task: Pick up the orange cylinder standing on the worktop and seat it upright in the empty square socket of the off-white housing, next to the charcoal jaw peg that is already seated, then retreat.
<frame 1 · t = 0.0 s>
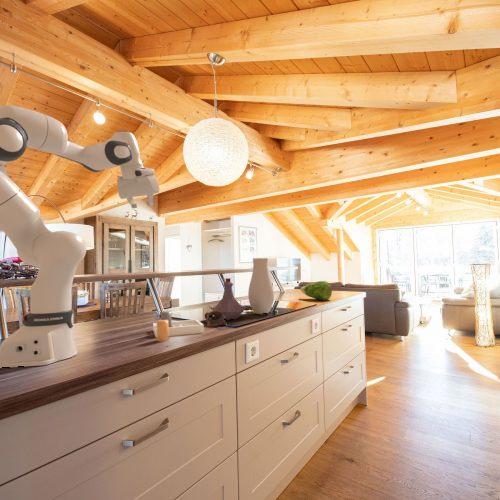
hand: (142, 207, 136), 52 cm above the counter, tool tilted 20°, fingers open, 8 cm apart
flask: (228, 318, 164), on the counter
lettuce: (315, 299, 233), on the counter
charcoal jaw peg: (166, 332, 128), point 1 cm above the counter, touching housing
vase: (261, 314, 176), on the counter
pottery mug: (214, 327, 143), on the counter
housing: (177, 334, 129), on the counter
orange cylinder: (162, 343, 116), on the counter
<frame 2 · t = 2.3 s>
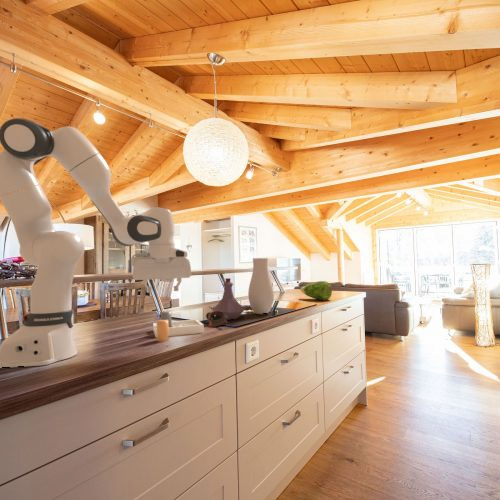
hand: (162, 291, 116), 18 cm above the counter, tool pointing down, fingers open, 8 cm apart
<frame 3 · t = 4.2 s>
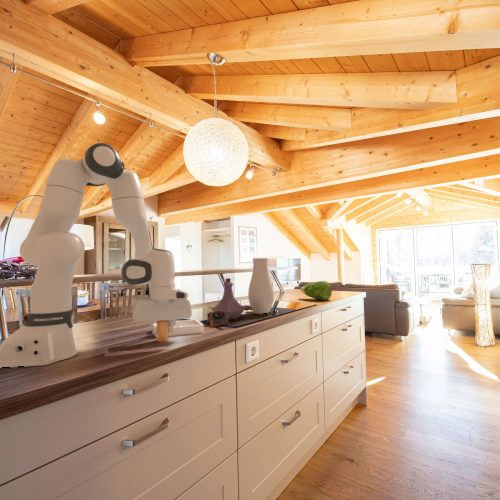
hand: (162, 333, 116), 4 cm above the counter, tool pointing down, fingers closed on orange cylinder, 4 cm apart
orange cylinder: (163, 343, 116), on the counter, touching gripper
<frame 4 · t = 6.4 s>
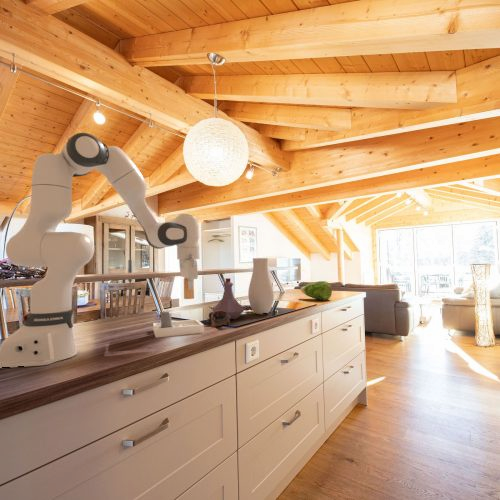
hand: (189, 289, 131), 18 cm above the counter, tool pointing down, fingers closed on orange cylinder, 4 cm apart
orange cylinder: (189, 298, 131), point 14 cm above the counter, touching gripper
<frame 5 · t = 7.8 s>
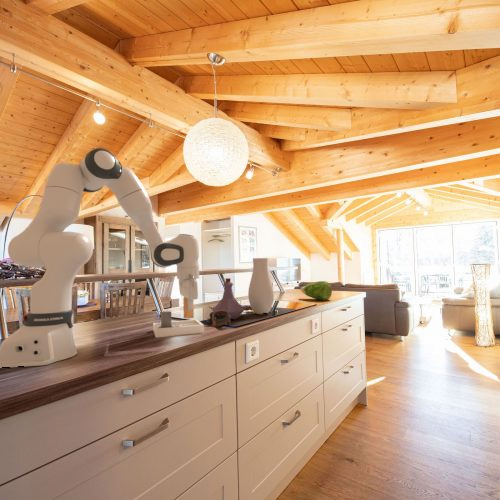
hand: (188, 308, 132), 10 cm above the counter, tool pointing down, fingers closed on orange cylinder, 4 cm apart
orange cylinder: (188, 317, 132), point 6 cm above the counter, touching gripper
when the fingers open (7 cm above the counter, at t = 8.8 s): orange cylinder drops 2 cm, resting on housing.
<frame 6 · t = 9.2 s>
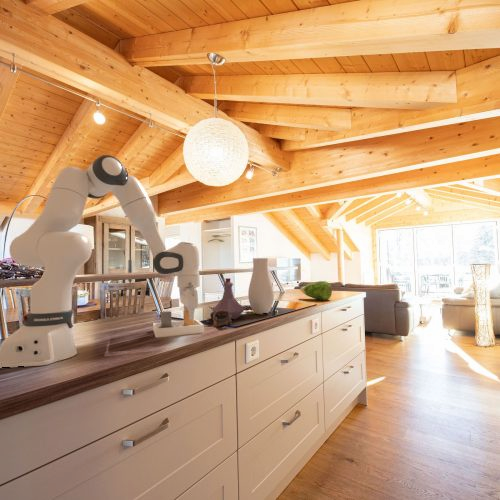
hand: (188, 316, 131), 7 cm above the counter, tool pointing down, fingers open, 8 cm apart
orange cylinder: (188, 330, 131), point 1 cm above the counter, touching housing
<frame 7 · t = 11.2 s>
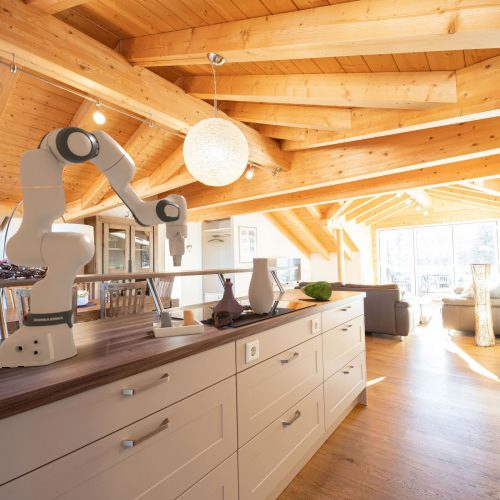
hand: (177, 266, 137), 27 cm above the counter, tool pointing down, fingers open, 8 cm apart
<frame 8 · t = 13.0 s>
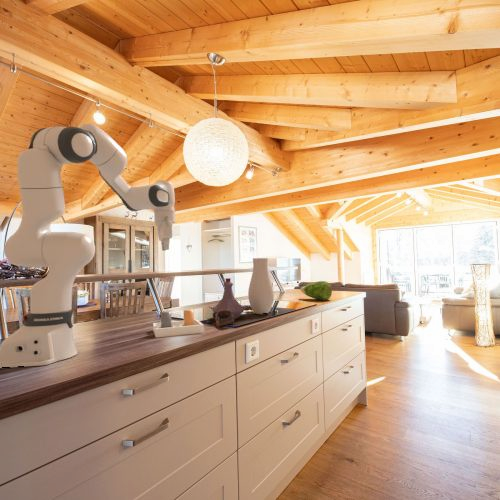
hand: (165, 250, 142), 34 cm above the counter, tool pointing down, fingers open, 8 cm apart
at the end: orange cylinder 0.1 cm from the target spot on the housing, point 1.3 cm above the housing's base; orange cylinder tilted 2°; the gripper is holding nothing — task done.
